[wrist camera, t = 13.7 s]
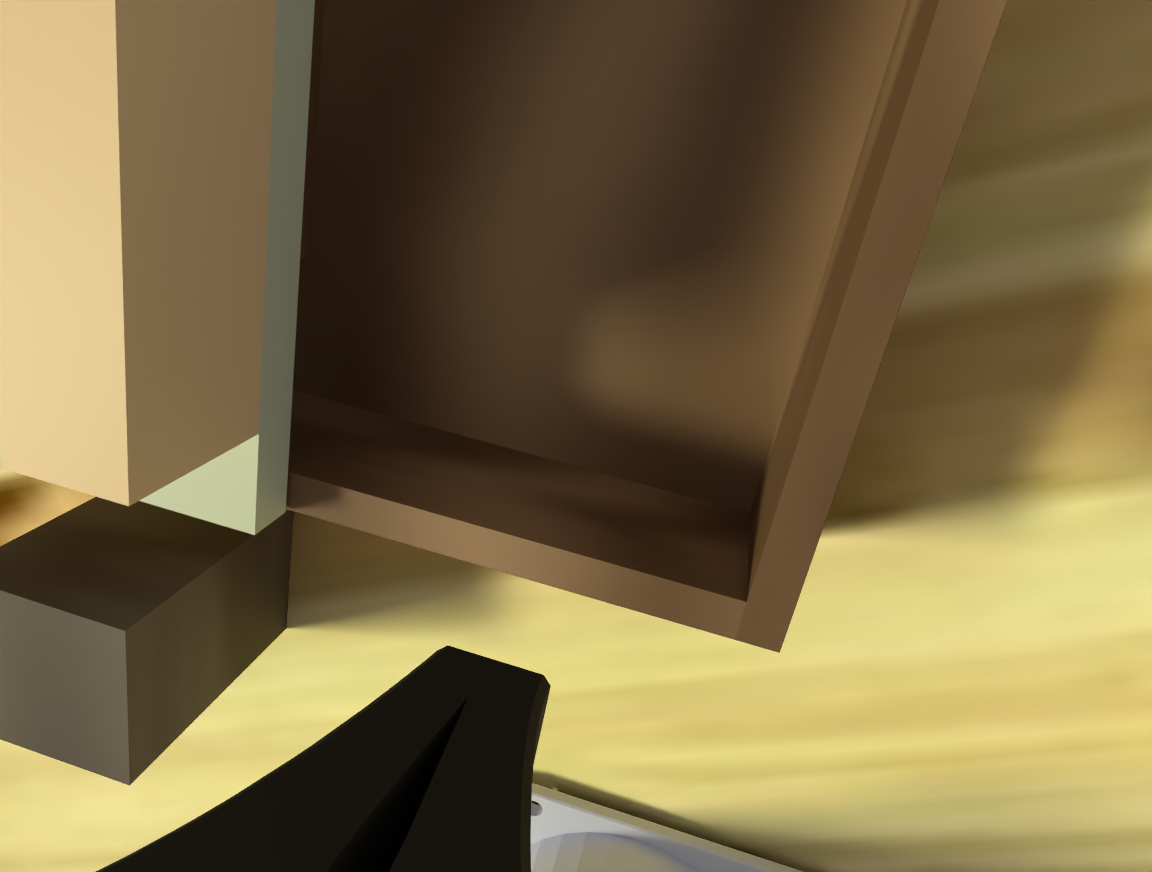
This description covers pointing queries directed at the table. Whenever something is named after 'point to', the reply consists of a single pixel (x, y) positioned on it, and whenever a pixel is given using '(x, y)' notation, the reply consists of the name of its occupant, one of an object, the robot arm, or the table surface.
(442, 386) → the brown wooden box
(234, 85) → the lid
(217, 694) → the dark brown block
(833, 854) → the table surface
